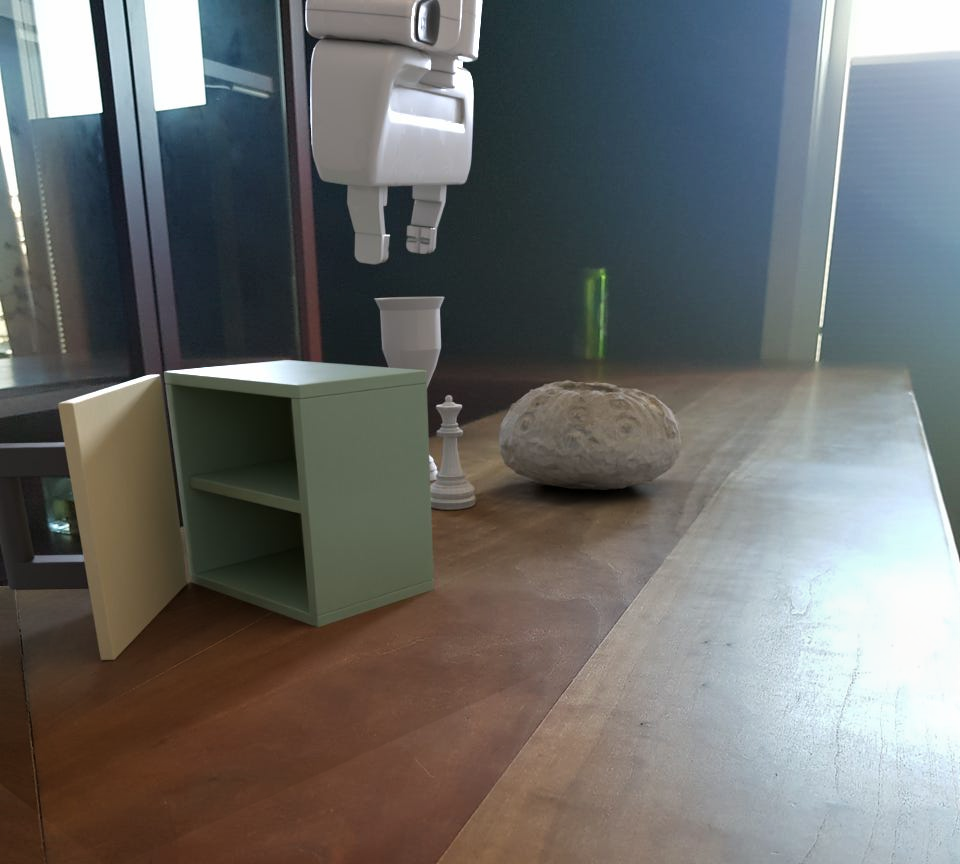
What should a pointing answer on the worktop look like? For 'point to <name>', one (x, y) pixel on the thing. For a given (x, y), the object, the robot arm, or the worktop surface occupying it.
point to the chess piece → (450, 464)
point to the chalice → (412, 336)
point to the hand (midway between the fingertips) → (397, 257)
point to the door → (104, 509)
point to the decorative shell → (589, 436)
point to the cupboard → (304, 484)
